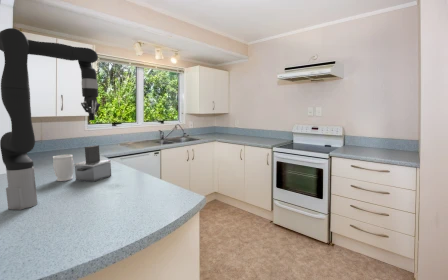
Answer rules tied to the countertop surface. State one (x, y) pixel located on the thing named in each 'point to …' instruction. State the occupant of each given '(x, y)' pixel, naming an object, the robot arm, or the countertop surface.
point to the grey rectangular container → (93, 172)
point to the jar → (63, 167)
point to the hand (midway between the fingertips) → (92, 120)
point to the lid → (92, 157)
